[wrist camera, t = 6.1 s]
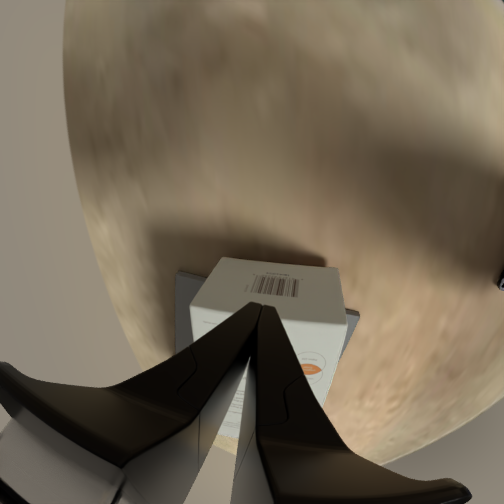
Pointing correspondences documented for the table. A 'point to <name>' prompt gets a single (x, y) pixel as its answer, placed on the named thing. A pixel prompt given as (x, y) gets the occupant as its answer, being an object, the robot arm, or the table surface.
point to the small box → (290, 312)
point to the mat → (187, 291)
